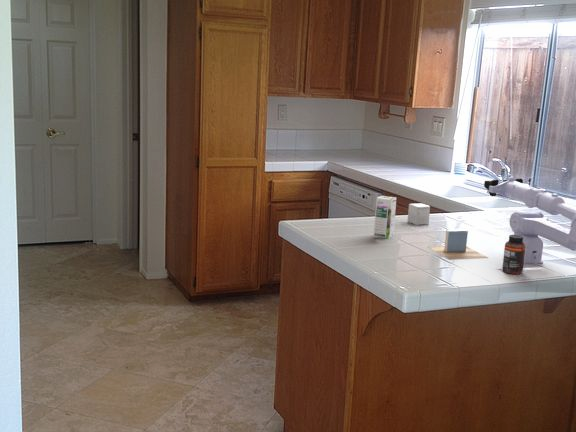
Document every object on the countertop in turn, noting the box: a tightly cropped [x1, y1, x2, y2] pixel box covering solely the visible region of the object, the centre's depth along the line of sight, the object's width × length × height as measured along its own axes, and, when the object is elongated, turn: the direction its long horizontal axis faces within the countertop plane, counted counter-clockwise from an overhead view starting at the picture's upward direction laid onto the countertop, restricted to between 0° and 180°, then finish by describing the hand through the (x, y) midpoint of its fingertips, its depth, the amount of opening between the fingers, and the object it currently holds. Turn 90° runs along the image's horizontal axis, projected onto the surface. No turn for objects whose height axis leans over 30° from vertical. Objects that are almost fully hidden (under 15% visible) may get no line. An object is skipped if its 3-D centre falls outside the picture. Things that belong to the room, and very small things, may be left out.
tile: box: [443, 228, 469, 252], centre depth 219 cm, size 2×7×7 cm, turn 106°
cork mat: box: [428, 245, 489, 260], centre depth 219 cm, size 15×14×1 cm
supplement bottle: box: [501, 234, 525, 275], centre depth 200 cm, size 6×6×11 cm
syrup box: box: [373, 195, 397, 239], centre depth 235 cm, size 6×6×14 cm
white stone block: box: [406, 203, 431, 226], centre depth 260 cm, size 6×6×7 cm
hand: (494, 183), depth 229 cm, fingers open, 7 cm apart
